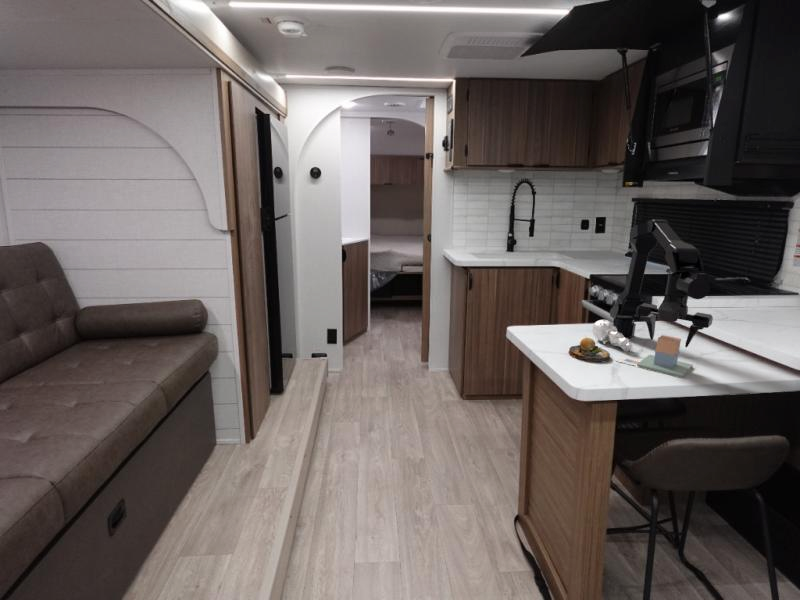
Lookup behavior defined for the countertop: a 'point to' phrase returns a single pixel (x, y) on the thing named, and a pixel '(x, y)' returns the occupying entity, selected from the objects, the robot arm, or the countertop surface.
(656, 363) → the brick blue
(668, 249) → the robot arm
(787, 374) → the countertop surface
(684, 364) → the build plate
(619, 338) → the figurine
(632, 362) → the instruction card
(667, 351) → the brick orange
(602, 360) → the food on plate
